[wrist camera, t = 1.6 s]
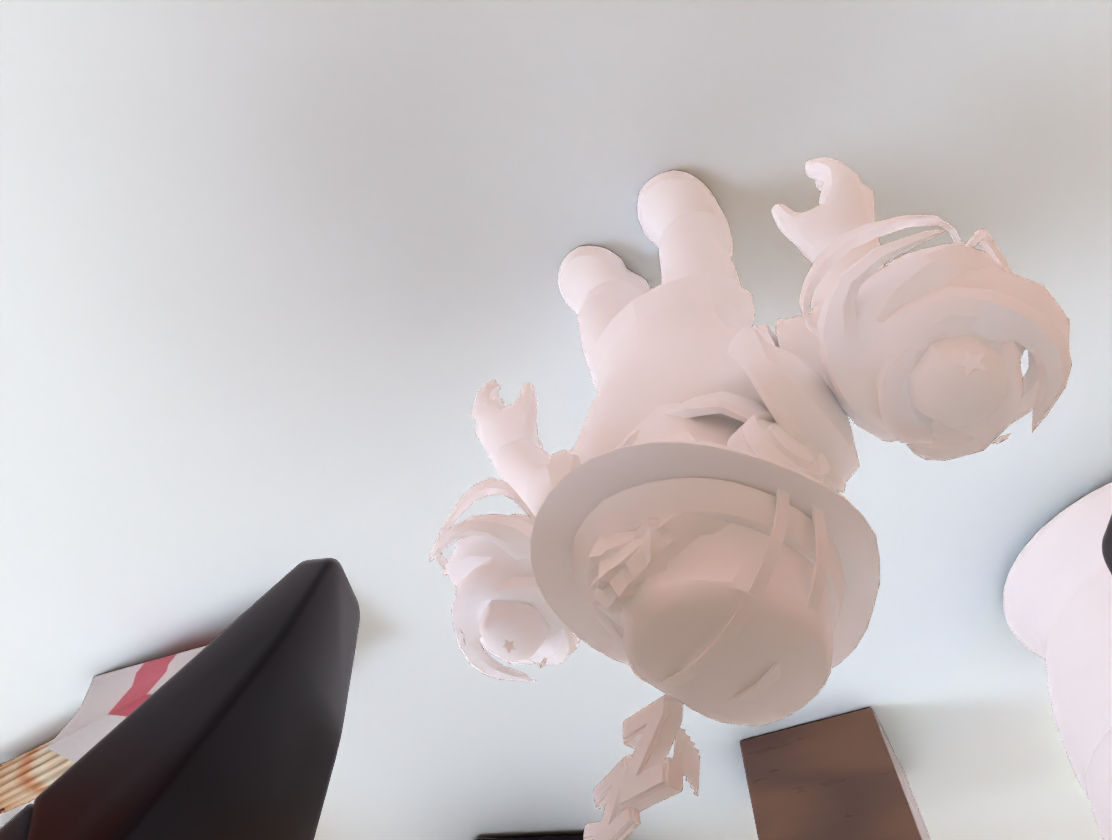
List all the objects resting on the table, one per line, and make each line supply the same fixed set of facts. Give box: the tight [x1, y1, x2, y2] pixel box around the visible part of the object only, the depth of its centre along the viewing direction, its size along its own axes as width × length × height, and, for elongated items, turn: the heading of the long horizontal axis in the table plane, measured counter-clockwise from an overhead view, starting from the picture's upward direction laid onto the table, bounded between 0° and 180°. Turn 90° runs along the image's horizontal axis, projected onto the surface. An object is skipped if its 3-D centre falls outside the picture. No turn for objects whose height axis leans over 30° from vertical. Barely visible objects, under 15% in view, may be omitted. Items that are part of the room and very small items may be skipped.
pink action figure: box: [429, 157, 1072, 840], centre depth 11 cm, size 9×4×12 cm, turn 131°
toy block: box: [740, 708, 931, 840], centre depth 25 cm, size 5×5×5 cm
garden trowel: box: [0, 646, 206, 814], centre depth 25 cm, size 4×3×20 cm
